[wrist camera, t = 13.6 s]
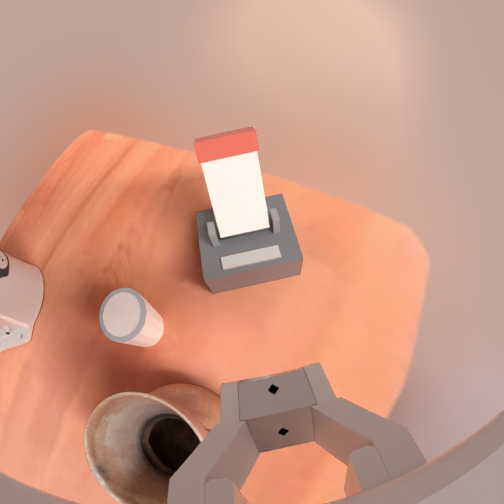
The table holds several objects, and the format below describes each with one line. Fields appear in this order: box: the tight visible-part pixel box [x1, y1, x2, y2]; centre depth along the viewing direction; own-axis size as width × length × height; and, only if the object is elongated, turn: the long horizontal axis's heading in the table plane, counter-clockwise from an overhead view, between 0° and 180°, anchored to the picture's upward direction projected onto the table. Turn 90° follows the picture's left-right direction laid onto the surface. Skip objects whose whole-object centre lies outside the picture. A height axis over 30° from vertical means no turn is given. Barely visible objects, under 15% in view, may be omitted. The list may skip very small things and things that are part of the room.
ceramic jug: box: [84, 383, 220, 504], centre depth 22 cm, size 18×14×14 cm
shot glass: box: [99, 287, 164, 347], centre depth 33 cm, size 7×7×7 cm
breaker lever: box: [194, 127, 270, 240], centre depth 31 cm, size 3×6×13 cm, turn 101°
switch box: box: [196, 194, 303, 293], centre depth 36 cm, size 10×12×8 cm
